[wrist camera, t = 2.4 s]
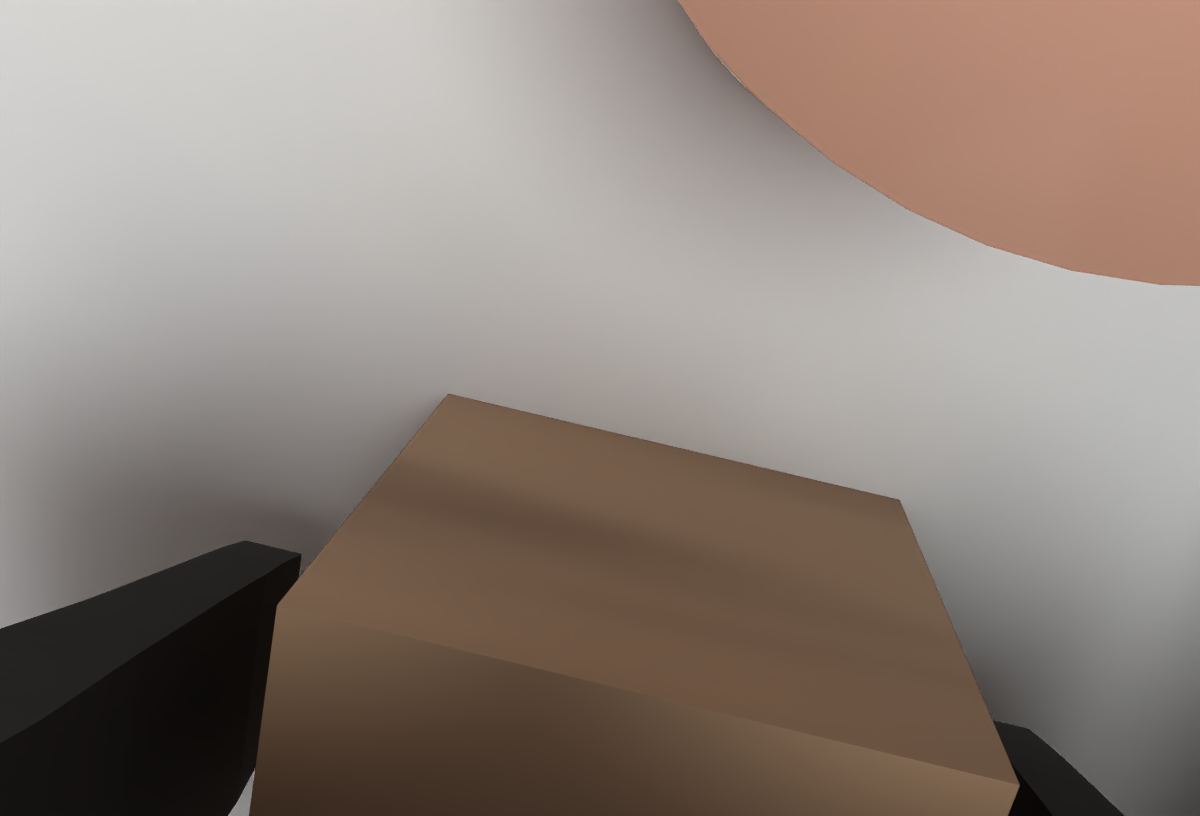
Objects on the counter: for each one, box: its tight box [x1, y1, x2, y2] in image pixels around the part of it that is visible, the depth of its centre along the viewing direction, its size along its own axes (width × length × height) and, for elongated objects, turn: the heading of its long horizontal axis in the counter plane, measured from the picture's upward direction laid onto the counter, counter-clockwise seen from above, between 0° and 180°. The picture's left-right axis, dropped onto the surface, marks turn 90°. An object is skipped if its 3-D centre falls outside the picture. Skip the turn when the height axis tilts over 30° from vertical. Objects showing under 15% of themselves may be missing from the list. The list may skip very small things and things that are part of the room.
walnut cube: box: [249, 394, 1020, 816], centre depth 10 cm, size 5×5×5 cm
